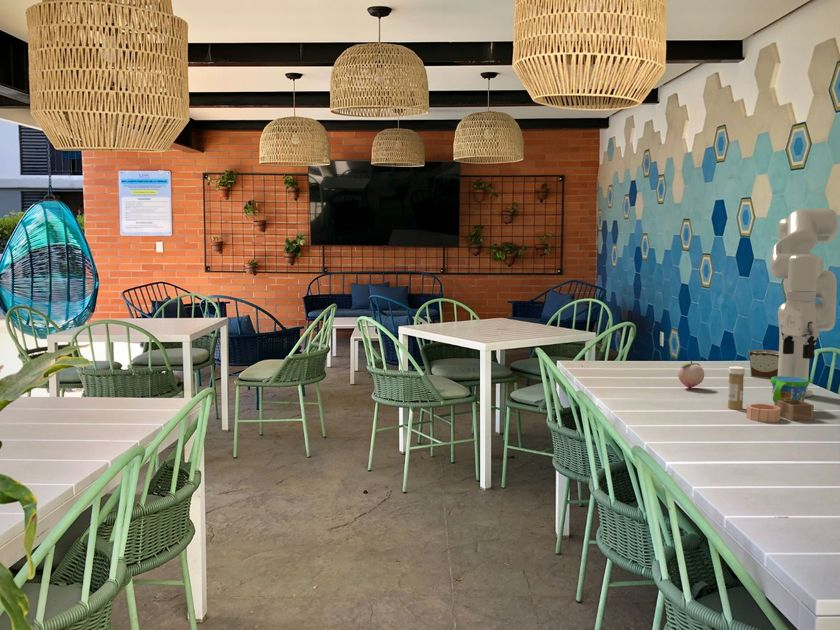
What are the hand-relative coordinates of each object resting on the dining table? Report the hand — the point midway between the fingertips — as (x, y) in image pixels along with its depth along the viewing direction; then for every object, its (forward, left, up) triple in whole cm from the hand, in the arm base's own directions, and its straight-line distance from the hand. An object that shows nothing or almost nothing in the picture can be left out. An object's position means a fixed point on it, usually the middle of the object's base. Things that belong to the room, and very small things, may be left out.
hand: (797, 356), depth 238 cm
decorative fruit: (-49, -8, -19) cm, 54 cm away
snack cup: (-11, +5, -19) cm, 23 cm away
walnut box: (0, 0, -19) cm, 19 cm away
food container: (-69, +32, -19) cm, 79 cm away
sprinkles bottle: (-14, -11, -19) cm, 26 cm away
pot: (0, -10, -19) cm, 21 cm away
